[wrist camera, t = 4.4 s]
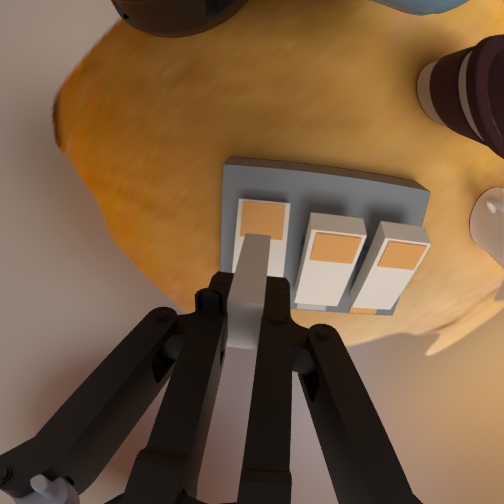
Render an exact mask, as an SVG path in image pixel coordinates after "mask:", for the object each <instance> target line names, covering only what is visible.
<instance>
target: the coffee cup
mask: <svg viewBox="0 0 504 504" xmlns="http://www.w3.org/2000/svg"><path fill="white" fill-rule="evenodd" d="M417 94H418V98H419V101H420V104H421V106H422V108H423V109H424V111H425V113H426V114H427V115H428V116H429V117H430V118H431V119H432V120H433V121H435V122H436V123H438V124H440V125H443V126H446V127H448V128H450V129H451V130H453V131H454V132H456V133H458V134H461V135H463V136H465V137H468V138H470V139H472V140H475V141H477V142H479V143H481V144H484V145H486V146H488V147H489V148H490V149H491V150H492V151H493V152H494V153H496V154H497V155H498V156H500V157H501V158H503V159H504V35H495V36H490V37H487V38H485V39H483V40H481V41H480V42H479V43H478V44H477V45H476V46H473V47H470V48H467V49H464V50H461V51H458V52H455V53H452V54H449V55H446V56H444V57H442V58H441V59H440V60H438V61H435V62H432V63H430V64H428V65H427V66H426V67H425V68H424V69H423V70H422V71H421V73H420V75H419V78H418V81H417Z"/></svg>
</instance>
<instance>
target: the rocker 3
mask: <svg viewBox="0 0 504 504" xmlns="http://www.w3.org/2000/svg"><path fill="white" fill-rule="evenodd" d="M430 245H431V242H430V239H429V237H428V234H427V232H426V229H425V227H419V226H412V225H406V224H399V223H392V222H385V221H380V224H379V227H378V229H377V232H376V234H375V236H374V239H373V241H372V244H371V246H370V248H369V251H368V253H367V256H366V258H365V260H364V262H363V265H362V267H361V269H360V272H359V274H358V276H357V278H356V280H355V283H354V285H353V287H352V289H351V291H350V293H351V304H352V307H353V308H369V309H386V310H390V309H391V308H392V306H393V305H394V303H395V302H396V300H397V299H398V297H399V296H400V294H401V293H402V291H403V290H404V288H405V287H406V285H407V283H408V282H409V280H410V279H411V277H412V275H413V274H414V272H415V271H416V269H417V267H418V266H419V264H420V262H421V261H422V259H423V257H424V256H425V254H426V252H427V250H428V249H429V247H430Z"/></svg>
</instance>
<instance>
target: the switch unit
mask: <svg viewBox="0 0 504 504" xmlns="http://www.w3.org/2000/svg"><path fill="white" fill-rule="evenodd" d="M429 196H430V191H429V190H427V189H426V188H425V187H423V186H422V185H420V184H419V183H417V182H416V181H413V180H408V179H402V178H397V177H392V176H386V175H381V174H375V173H369V172H363V171H356V170H350V169H343V168H336V167H329V166H321V165H313V164H304V163H295V162H286V161H276V160H264V159H252V158H238V157H230V158H229V159H228V160H227V161H226V162H225V163H224V164H223V185H222V219H221V272H229V273H232V267H233V256H234V245H235V235H236V224H237V214H238V203H239V199H248V200H260V201H270V202H281V203H290V213H289V224H288V234H287V244H286V254H285V264H284V273H283V277H284V278H287V280H288V281H289V283H290V309H301V310H313V311H326V312H340V313H356V314H373V315H393V313H394V310H395V307H396V305H397V302H398V299H399V297H400V296H399V297H398V299H397V300H396V302H395V303H394V305H393V306H392V308H391V309H390V310H386V309H369V308H353V307H352V304H351V293H350V291H351V289H352V287H353V285H354V283H355V280H356V278H357V276H358V274H359V272H360V269H361V267H362V265H363V262H364V260H365V258H366V256H367V253H368V251H369V248H370V246H371V244H372V241H373V239H374V236H375V234H376V232H377V229H378V227H379V224H380V221H385V222H392V223H399V224H406V225H412V226H419V227H422V224H423V220H424V216H425V212H426V208H427V204H428V200H429ZM311 212H313V213H322V214H330V215H339V216H347V217H355V218H363V221H364V225H365V229H366V234H367V236H366V239H365V242H364V244H363V247H362V249H361V252H360V254H359V257H358V259H357V261H356V264H355V266H354V269H353V271H352V273H351V276H350V278H349V280H348V283H347V285H346V287H345V290H344V292H343V294H342V296H341V299H340V301H339V303H338V305H337V306H325V305H313V304H301V303H294V296H295V284H296V279H297V275H298V270H299V266H300V261H301V257H302V252H303V248H304V243H305V238H306V234H307V229H308V224H309V219H310V214H311Z"/></svg>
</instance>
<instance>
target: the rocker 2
mask: <svg viewBox="0 0 504 504" xmlns="http://www.w3.org/2000/svg"><path fill="white" fill-rule="evenodd" d="M366 236H367V234H366V229H365V225H364V221H363V218H355V217H347V216H339V215H330V214H322V213H313V212H311V214H310V219H309V224H308V229H307V234H306V238H305V243H304V248H303V252H302V257H301V261H300V266H299V270H298V275H297V279H296V284H295V296H294V303H301V304H313V305H325V306H337V305H338V303H339V301H340V299H341V296H342V294H343V292H344V290H345V287H346V285H347V283H348V280H349V278H350V276H351V273H352V271H353V269H354V266H355V264H356V261H357V259H358V257H359V254H360V252H361V249H362V247H363V244H364V242H365V239H366Z"/></svg>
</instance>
